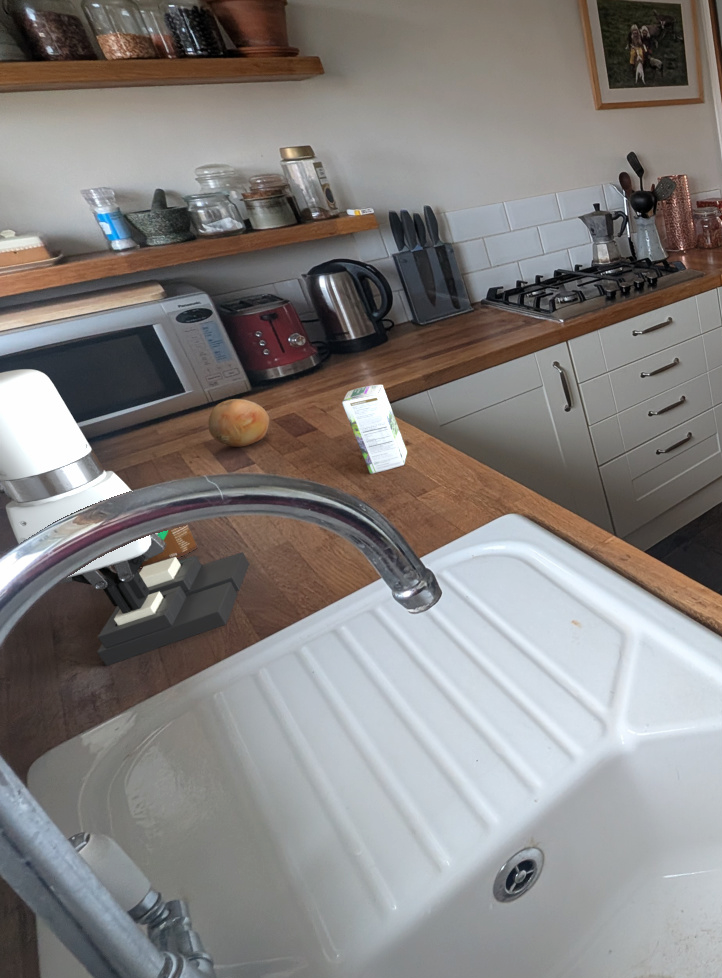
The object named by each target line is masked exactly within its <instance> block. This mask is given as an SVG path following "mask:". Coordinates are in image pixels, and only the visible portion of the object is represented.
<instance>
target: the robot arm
mask: <svg viewBox="0 0 722 978" xmlns="http://www.w3.org/2000/svg"><path fill="white" fill-rule="evenodd" d="M129 491H132V489H131V488H130V487H129V486H128V485H127V484H126V483H125V481H123V479H121V478H120V477H119V476H118V475H117V474H116V473H115V472H114V471H113V470H107V471H106V470H105V469H104V467H103V466H102V463H101V462H100V460H99V459H98V457H97V455H96V454H95V452H94V450H93V449H92V447H91V445H90V443H89V442H88V440H87V439H86V437H85V435H84V433H83V431H82V429H81V428H80V427H79V424H77V421H76V420H75V419H74V417H73V415H72V414H71V411H70V410H69V408H68V407H67V405H66V403H65V401H64V400H63V398H62V397H61V395H60V393H59V391H58V389H57V388H56V386H55V384H54V383H53V382H52V380H51V379H50V377H49V376H48V375H47V374H46V373H44V372H42V371H40V370H36V369H32V368H31V369H30V368H23V369H22V368H21V369H14V370H7V371H3V372H0V494H2V495H3V494H4V495H5V494H6V495H7V497H8V498H9V500H11V501H10V502H8V503H7V504H6V505H5V510H6V514H7V518H8V521H9V524H10V526H11V529H12V532H13V534H14V537H15V539H16V541H17V544H18V545H19V544H20V543H21V542H23V541H24V540H26V539H28V538H29V537H31V536H32V535H34V534H36V533H37V532H39V531H40V530H42V529H44V528H45V527H47V526H48V525H50V524H52V523H53V522H55V521H57V520H59V519H61V518H63V517H65V516H67V515H70V514H71V513H74V512H76V511H78V510H80V509H83V508H85V507H87V506H90V505H92V504H95V503H98V502H100V501H103V500H106V499H109V498H111V497H114V496H117V495H120V494H123V493H126V492H129ZM157 534H158V533H155V534H152V535H149V536H146V537H144V538H141V539H138V540H136V541H133V542H131V543H129V544H127V545H125V546H123V547H120V548H118V549H116V550H114V551H112V552H109V553H107V554H105V555H104V556H102V557H100V558H97V559H96V560H94V561H92V562H91V563H89V564H88V565H86V566H85V567H83V568H81V569H80V570H78V571H77V572H75V573H74V574H72V575H70V576H68V577H67V578H66V579H64V580H63V581H62V582H60V583H59V584H58V585H60V584H68V583H73V582H77V583H81V584H85V585H90V586H92V587H93V588H94V589H96V590H103V592H104V593H105V595H106V596H107V598H108V599H109V601H110V602H111V604H112V606H113V607H115V608H116V607H117V606H118V607H119V609H120V610H121V612H122V613H123V614H125V613H128V612H130V611H131V610H137V609H140V608H141V607H142V606H143V604H144V602H145V600H146V599H147V597H148V595H149V589H148V587H147V586H146V584H145V582H144V581H143V579H142V577H141V576H140V574H139V573H140V572H139V569H140V566H141V565H142V563H143V561H145V560H147V559H150V558H152V557H154V556H156V555H158V554H160V553H162V552H163V551H164V549H165V547H166V546H167V544H166V543H165V542H164V541H163V540H162V539H161V538H160V537H159V536H158V535H157ZM113 565H114V567H115V569H114V568H113V567H112V566H113Z"/></svg>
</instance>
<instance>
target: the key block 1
mask: <svg viewBox="0 0 722 978" xmlns="http://www.w3.org/2000/svg"><path fill="white" fill-rule="evenodd" d="M178 561H179V563H180V565H181V566H182V567H181V569H180V570H179V572H178V574H177V576H176V578H175V579H172V580H169V581H166V582H163V583H160V584H157V585H153V586H150V587H148V589H149V595H150V594H153V593H156V592H159V591H160V592H163V591H166V590H170V589H173V588H176V587H179V586H180V587H181V588H182V590H183V592H184V593H185V595H186V596H189V595H192V594H195V593H198V592H201V591H204V590H207V589H210V588H213V587H216V586H219V585H222V584H225V583H228V582H231V583H232V585H233V587H234V589H235V590H236V592H238V591H240V590H241V587H242V584H243V582H244V578H245V576H246V574H247V571H248V569H249V567H250V563H249V561H248V558H247V557H246V556H245V552H238V553H235V554H231V555H229V556H226V557H222V558H220V559H215V560H213V561H210V562H207V563H203V564H202V563H201V561H200V559H199V557H198V556H197V555H193V556H189V557H186V558H181V559H180V560H179V559H178Z"/></svg>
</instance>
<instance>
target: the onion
mask: <svg viewBox="0 0 722 978" xmlns="http://www.w3.org/2000/svg"><path fill="white" fill-rule="evenodd" d="M269 425H270V417H269V414H268V413H267V411H266V410H265V408H263V407H262V406H261V405H259V404H258V403H256V402H253V401H251V400H248V399H243V398H233V399H232V398H231V399H226V400H224V401H221V402H219V403H217V404H216V405H215V406H214V407H213V408H212V409H211V411H210V414H209V418H208V431H209V434H210V435H211V436H212V438H213V439H214V440H215V441H217V442H219V443H221V444H223V445H225V446H228V447H235V448H242V447H247V446H250V445H251V444H254V443H256V442H258V441H260V440H262V439H264V438H265V436H266V434H267V431H268V429H269Z"/></svg>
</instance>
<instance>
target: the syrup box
mask: <svg viewBox="0 0 722 978" xmlns="http://www.w3.org/2000/svg"><path fill="white" fill-rule="evenodd" d="M341 404H342V408H343V410H344V412H345V414H346V417H347V420H348V422H349V424H350V427H351V430H352V432H353V435H354V436H355V439H356V442H357V445H358V447H359V449H360V452H361V455H362V458H363V460H364V462H365V464H366V468H367V470H368V472H369V474H372V475H373V474H376V473H380V472H385V471H389V470H392V469H395V468H398V467H403V466H405V464H406V460H407V456H408V450H407V447H406V444H405V441H404V438H403V436H402V433H401V431H400V428H399V425H398V423H397V420H396V419H397V418H396V417H395V414H394V412H393V409H392V407H391V403H390V401H389V398H388V396H387V393H386V390H385V388H384V385H383V384H374V385H373V384H372V385H367V386H363V387H362V386H361V387H357V388H354V389H351V390H348V391H347V392H346V394H345V396H344V398H343V400H342V402H341Z"/></svg>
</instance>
